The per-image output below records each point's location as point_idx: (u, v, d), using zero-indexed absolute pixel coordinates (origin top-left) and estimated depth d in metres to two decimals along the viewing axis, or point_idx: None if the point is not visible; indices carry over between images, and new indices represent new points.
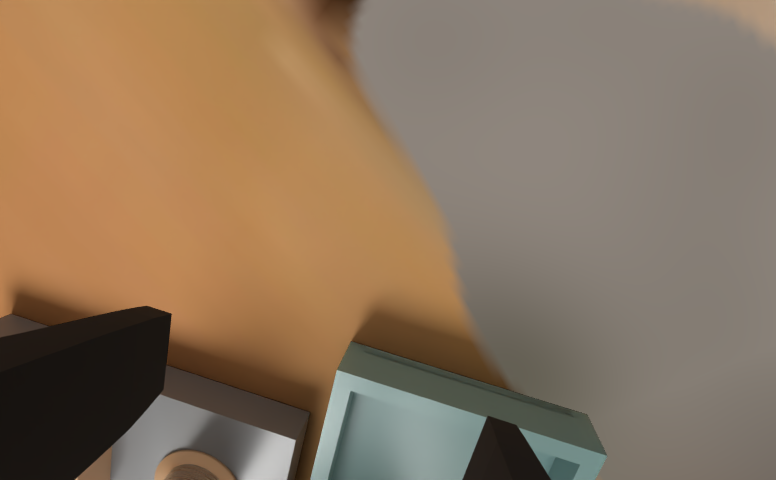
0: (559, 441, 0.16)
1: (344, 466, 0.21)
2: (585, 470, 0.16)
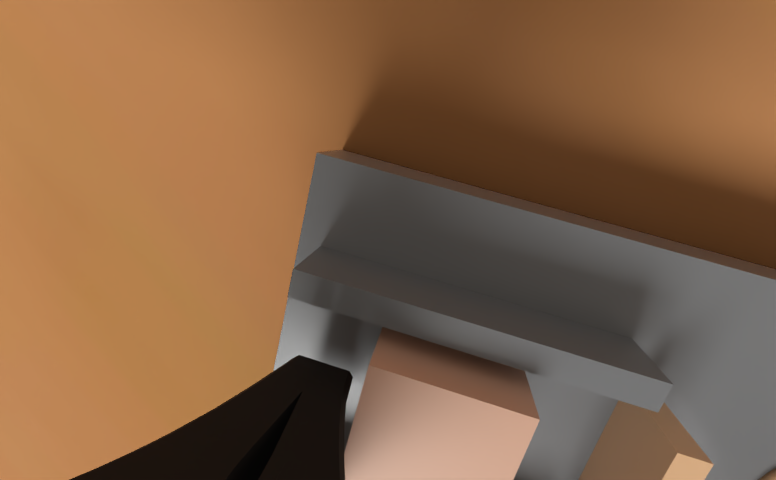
0: None
1: None
2: None
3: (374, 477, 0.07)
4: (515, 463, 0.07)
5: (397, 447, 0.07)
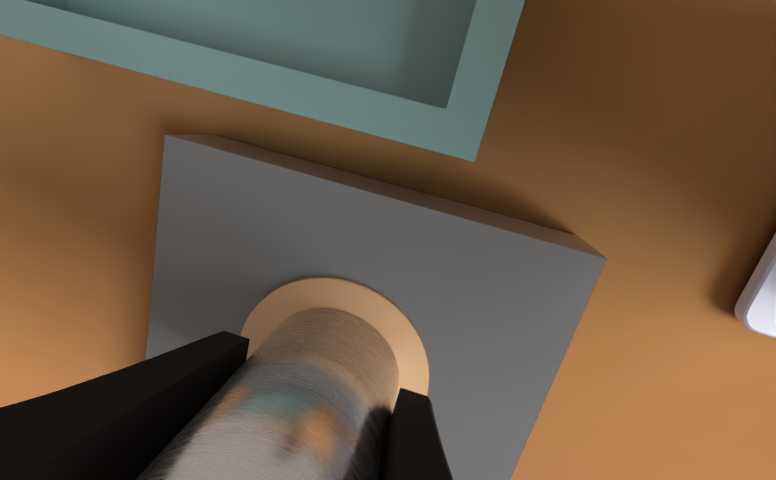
0: None
1: (294, 51, 0.09)
2: None
3: None
4: None
5: None
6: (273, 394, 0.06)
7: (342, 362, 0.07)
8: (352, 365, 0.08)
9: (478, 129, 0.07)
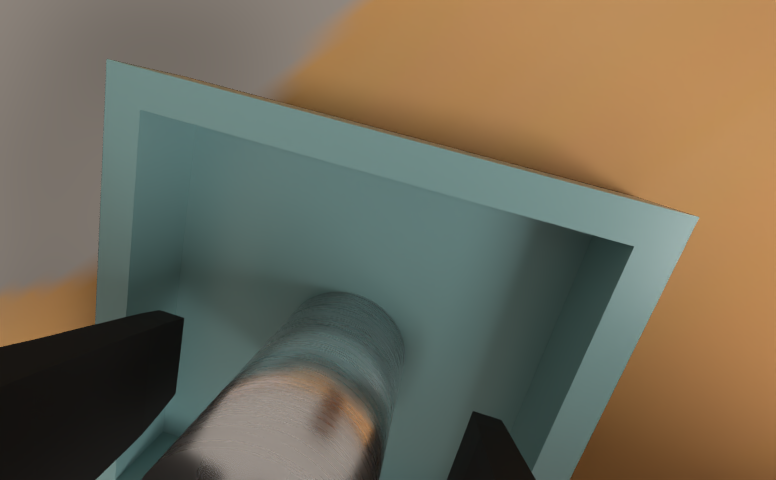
0: (103, 155, 0.08)
1: None
2: (149, 97, 0.08)
3: None
4: None
5: None
6: (300, 355, 0.07)
7: (355, 333, 0.09)
8: (364, 335, 0.09)
9: None
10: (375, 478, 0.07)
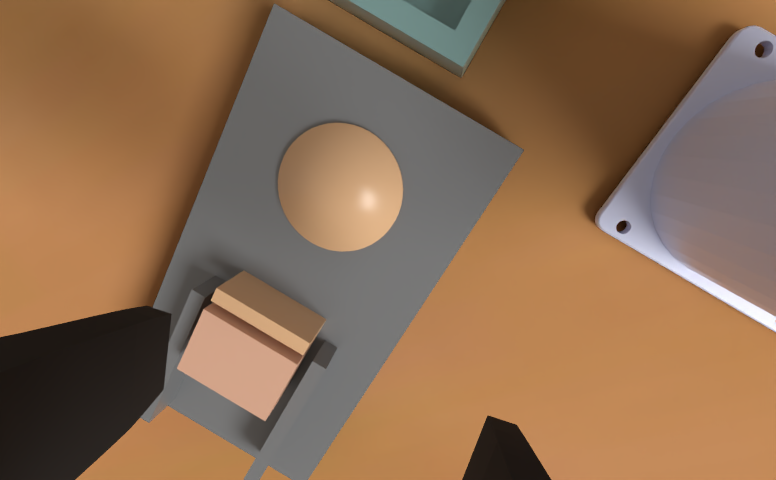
0: None
1: None
2: None
3: (233, 386, 0.15)
4: (226, 324, 0.15)
5: (216, 370, 0.15)
6: None
7: None
8: None
9: (470, 47, 0.13)
10: None
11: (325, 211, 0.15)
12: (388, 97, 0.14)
